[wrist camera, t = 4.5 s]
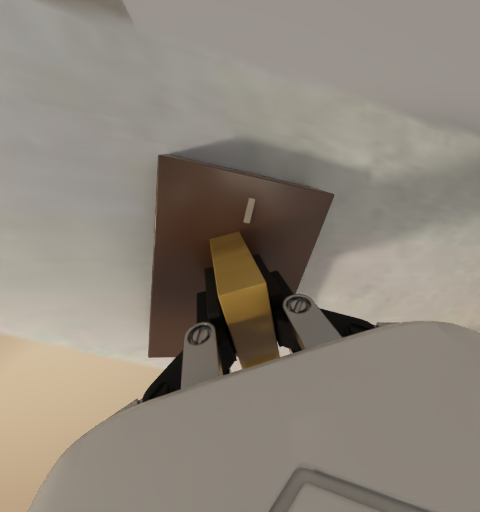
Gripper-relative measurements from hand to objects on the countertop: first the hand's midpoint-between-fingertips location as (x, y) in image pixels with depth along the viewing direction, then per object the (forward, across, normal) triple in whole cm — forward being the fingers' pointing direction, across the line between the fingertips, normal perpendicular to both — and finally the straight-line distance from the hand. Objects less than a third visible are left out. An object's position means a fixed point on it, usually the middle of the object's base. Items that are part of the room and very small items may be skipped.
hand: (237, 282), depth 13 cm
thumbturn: (+1, 0, 0) cm, 1 cm away
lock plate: (+4, 0, +1) cm, 4 cm away
